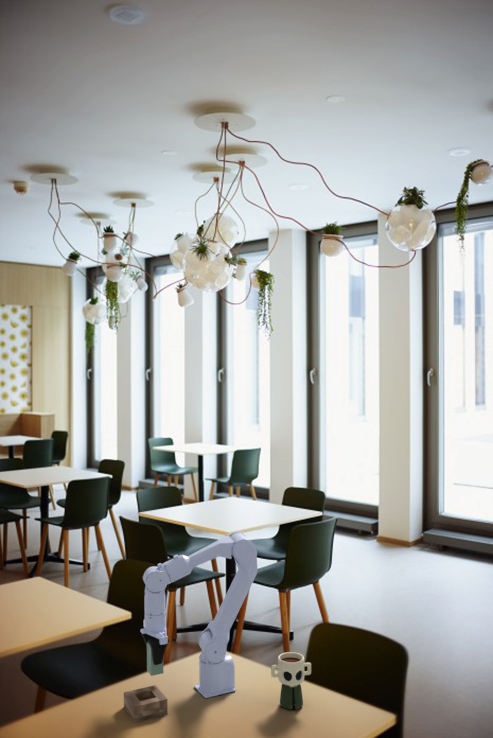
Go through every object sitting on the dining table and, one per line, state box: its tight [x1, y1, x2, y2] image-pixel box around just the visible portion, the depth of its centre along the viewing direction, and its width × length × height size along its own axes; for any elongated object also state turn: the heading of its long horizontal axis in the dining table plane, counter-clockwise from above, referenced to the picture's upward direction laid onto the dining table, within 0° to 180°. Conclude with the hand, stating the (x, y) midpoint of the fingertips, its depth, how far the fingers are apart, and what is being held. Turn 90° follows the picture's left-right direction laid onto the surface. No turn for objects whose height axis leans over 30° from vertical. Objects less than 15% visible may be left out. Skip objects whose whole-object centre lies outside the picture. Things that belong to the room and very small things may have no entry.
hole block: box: [123, 684, 169, 723], centre depth 192 cm, size 9×9×4 cm
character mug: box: [270, 651, 312, 710], centre depth 194 cm, size 11×7×13 cm, turn 98°
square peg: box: [146, 642, 164, 677], centre depth 199 cm, size 4×4×8 cm
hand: (155, 661), depth 199 cm, fingers closed on square peg, 3 cm apart
